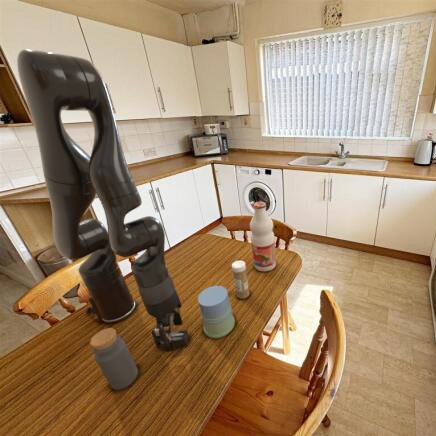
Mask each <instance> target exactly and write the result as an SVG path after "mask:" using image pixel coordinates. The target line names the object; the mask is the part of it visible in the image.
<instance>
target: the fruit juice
mask: <svg viewBox="0 0 436 436" xmlns="http://www.w3.org/2000/svg"><path fill="white" fill-rule="evenodd" d="M252 208H253V215H252V218H251V220H250V222H249V229H250V233H251V234H250V243H251V250H252V251H251V252H252V258H253V259H252V260H253V265H254V268H255V269H256V270H257V271H259V272H269V271H272V270H273V269H275V267H276V265H277V253H276V239H275V233H274V231H273V229H274V222H273V220H272V218H271V217H270V216H269V215H268V212H267V203H266V202H264V201H256V202H254V203H253V204H252Z"/></svg>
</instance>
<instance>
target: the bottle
mask: <svg viewBox="0 0 436 436" xmlns="http://www.w3.org/2000/svg"><path fill="white" fill-rule="evenodd" d="M89 344H90V346H91V351H92V352H93V354H94V360H95V361H96V363H97V366H98V367H99V369H100V370H101V372H102V374H103V376H104V377H105V379H106V381H107V382H108V384H109V386H110V387H111V388H112V389H113V390H116V391H120V390H123V389H126V388H127V387H129V386H130V385H131V384H133V382H134V381H135V380H136V378H138V375H139V369H138V367H137V365H136V362H135V360H134V358H133V356H132V355H131V352H130V350H129V348H128V346H127V344H126V343H125V340H123V339H122V338H121V337H120V335H119V334H118V333H117V331H116V329H115V328H112V327H108V328H103V329H102V330H100V331H98V332H97V333H95V334H94V335H93V336H92V337H91V339H90V341H89Z"/></svg>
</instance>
